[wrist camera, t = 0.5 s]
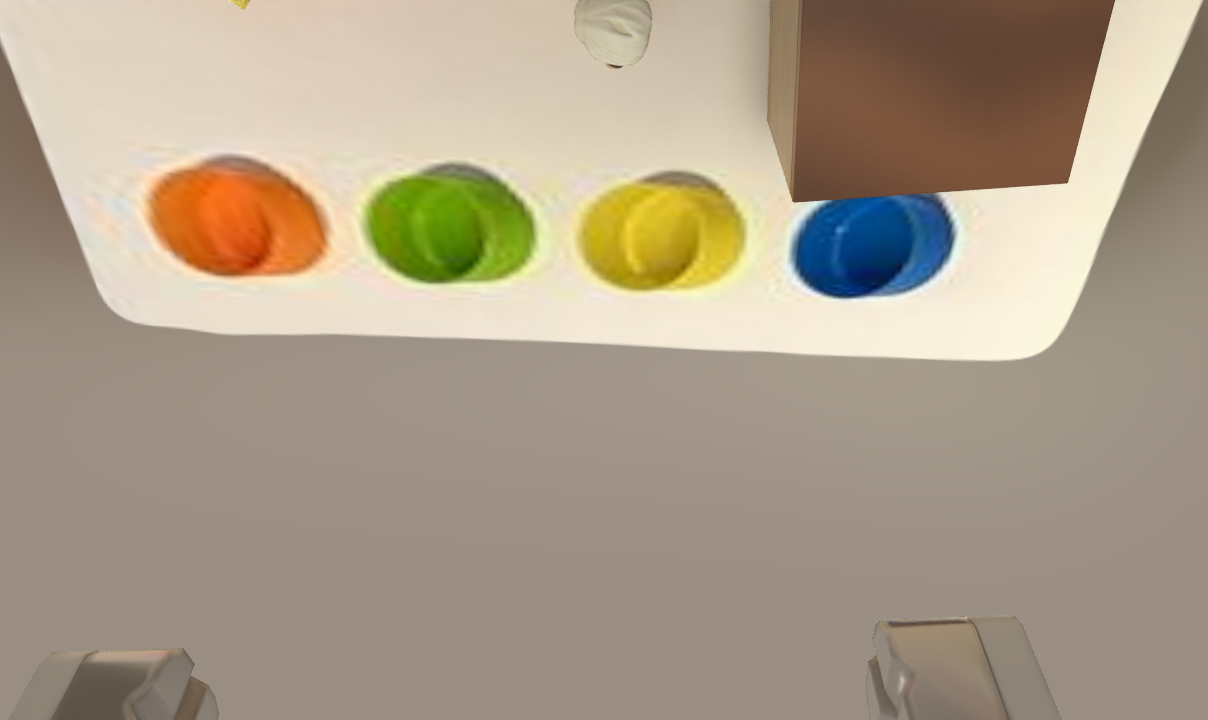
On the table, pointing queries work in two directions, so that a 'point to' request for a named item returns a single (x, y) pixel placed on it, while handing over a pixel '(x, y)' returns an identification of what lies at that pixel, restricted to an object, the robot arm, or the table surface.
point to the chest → (783, 78)
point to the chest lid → (940, 94)
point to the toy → (241, 3)
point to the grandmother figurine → (614, 30)
